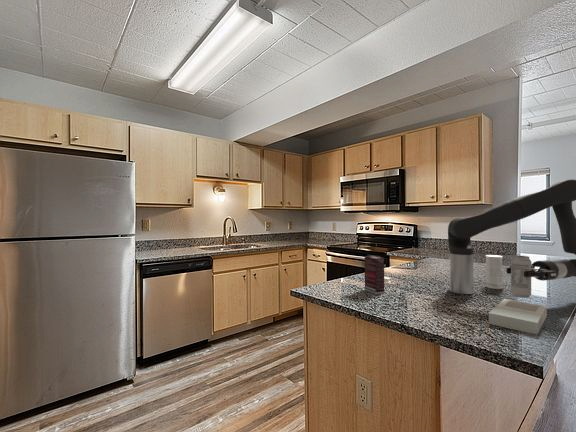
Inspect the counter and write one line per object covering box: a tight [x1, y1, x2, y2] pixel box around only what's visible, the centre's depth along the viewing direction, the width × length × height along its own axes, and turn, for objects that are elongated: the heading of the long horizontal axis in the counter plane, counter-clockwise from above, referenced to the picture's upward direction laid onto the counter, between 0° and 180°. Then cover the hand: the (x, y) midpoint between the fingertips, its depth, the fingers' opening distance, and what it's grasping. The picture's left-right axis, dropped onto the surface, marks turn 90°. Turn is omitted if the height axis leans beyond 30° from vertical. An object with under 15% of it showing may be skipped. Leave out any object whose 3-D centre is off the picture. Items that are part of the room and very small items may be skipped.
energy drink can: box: [510, 254, 532, 299], centre depth 111 cm, size 6×6×15 cm
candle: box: [484, 254, 504, 290], centre depth 140 cm, size 7×7×15 cm
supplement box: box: [364, 255, 385, 295], centre depth 134 cm, size 9×5×16 cm, turn 22°
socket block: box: [488, 298, 548, 336], centre depth 98 cm, size 12×22×4 cm, turn 133°
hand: (516, 272), depth 110 cm, fingers closed on energy drink can, 6 cm apart
